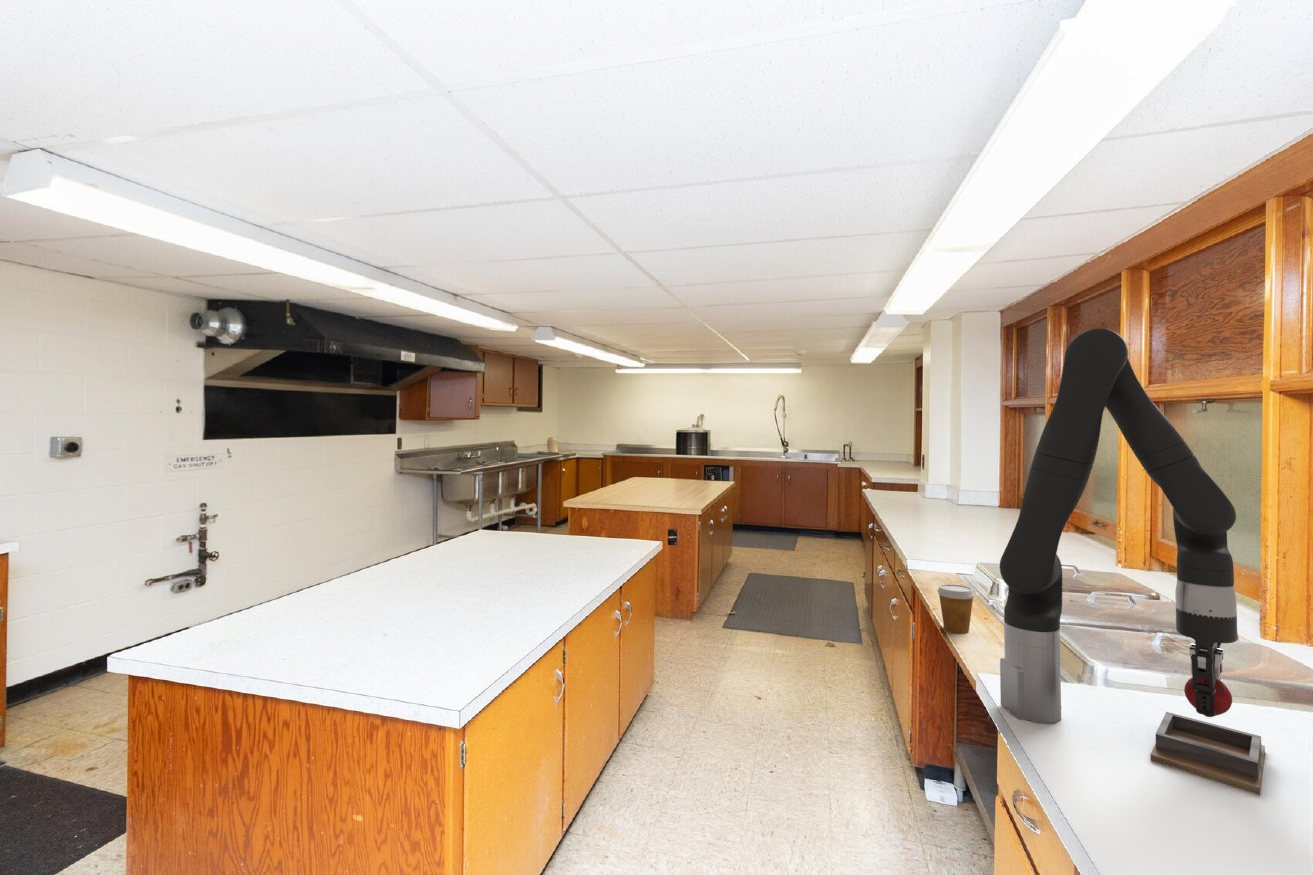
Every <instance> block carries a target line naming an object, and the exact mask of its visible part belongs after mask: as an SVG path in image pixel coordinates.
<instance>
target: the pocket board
mask: <svg viewBox="0 0 1313 875" xmlns="http://www.w3.org/2000/svg"><path fill="white" fill-rule="evenodd" d="M1265 751H1266V746H1265V745H1263V744H1262V736H1261V735H1257V734H1255V733H1249V732H1246V731H1242V730H1239V729H1235V728H1230V727H1227V726H1226V727H1225V726H1222V725H1219V724H1215V723H1211V722H1207V721H1203V720H1200V719H1196V718H1191V717H1188V716H1184V715H1181V714H1176V713H1173V712H1169V711H1166V712H1165V714H1164V715H1163V718H1162V720H1161V722H1160V724H1159V726H1158V728H1157V730H1156V732H1155V743H1154V746H1153V748H1152V751H1151V752H1150V758H1149V759H1150V761H1151V762H1154V761H1155V762H1156V763H1157V764H1162V765H1165V766H1167V765H1168V766H1167V767H1171V768H1174V769H1176V770H1180V771H1184V772H1187V773H1190V774H1193V775H1196V776H1200V777H1203V778H1206V779H1210V780H1212V781H1215V782H1219V783H1222V784H1224V785H1228V786H1231V787H1235V788H1238V789H1241V790H1244V791H1248V792H1251V793H1254V794H1256V795H1257V794H1258V795H1261V790H1262V789H1261V788H1262V780H1263V772H1264V762H1265V754H1266V752H1265ZM1155 762H1154V763H1155Z"/></svg>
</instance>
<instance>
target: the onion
mask: <svg viewBox="0 0 1313 875" xmlns="http://www.w3.org/2000/svg"><path fill="white" fill-rule="evenodd" d="M1199 683H1202V684H1206V685H1209V680H1208V679H1204V678H1199ZM1192 684H1193V681H1192V677H1191V678H1189V679H1188V680H1187V681H1186V682H1185V685H1184V690H1183V691H1184V695H1185V697H1186V699H1187V701H1188V702H1189V704H1190V705H1191V706H1192V707H1193V708H1194V709H1196V690H1194V689H1193V687H1192ZM1215 689H1216V693H1215V695H1214V698H1215V715H1214V716H1212V717H1211V716H1207V715H1204V716H1205V717H1207V718H1214V717H1216V716H1221V715H1223V714H1226V713H1227V712H1228V711H1229V710H1230V708H1231V707H1232V704H1233V696H1232V693H1231V691H1230V689H1229V688H1228V687H1227V685H1226V684H1225V683H1224V682H1223V681H1221V679H1220V680H1218V681H1215Z"/></svg>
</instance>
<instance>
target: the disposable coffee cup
mask: <svg viewBox="0 0 1313 875" xmlns="http://www.w3.org/2000/svg"><path fill="white" fill-rule="evenodd" d="M936 591H937V594H938V596H939V603H940V609H941V617H942V623H943V624H942V625H943V629H944V630H945V631H947V632H950V633H956V634H968V633H969V631H970V625H971V616H972V609H973V601H974V600H973V599H974V598H975V595H976V593H975V592H974V589H973V588H972V587H970V586H967V585H962V584H950V583H947V584H940V585H939V586H938V589H937V590H936Z"/></svg>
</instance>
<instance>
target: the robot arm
mask: <svg viewBox="0 0 1313 875" xmlns="http://www.w3.org/2000/svg"><path fill="white" fill-rule="evenodd" d="M1105 408H1106V409H1107V411H1108V412H1109V413H1110V415H1111V417H1112V418H1113V420H1114V421H1115V423H1116V425H1117V426H1118V428H1119V431H1120V432H1121V434H1122V435H1123V437H1124V439H1125V441H1126V443H1127V444H1128V446H1129V448H1130V449H1131V451H1132V452H1133V454H1134V455H1135V457H1136V458H1137V460H1138V461H1139V463H1140V464H1141V466H1142V468H1143V469H1144V470H1145V472H1146V473H1147V475H1148V477H1149V478H1150V479H1151V480H1152V482H1154V483H1155V484H1156V485H1157V486H1159V488H1160V489H1161V490H1162V492H1163V494H1164V495H1165V497H1166V499H1167V500H1168V502H1169V503H1170V505H1171V507H1172V519H1173V520H1172V521H1173V529H1174V535H1175V536H1174V537H1175V542H1176V548H1177V549H1176V550H1177V552H1176V554H1177V555H1176V585H1175V595H1174V597H1175V598H1174V599H1175V629H1176V632H1177V633H1179V634H1180V635H1181V636H1184V637H1187V638H1190V639H1193V640H1194V643H1191V645H1190V646H1189V647H1188V649H1189V650H1188V655H1189V658H1190V674H1191V678H1192V681H1193V684H1192V687H1193V689H1194V690H1196V708H1195V711H1196V713H1197V714H1200V715H1203V716H1205V715H1207V716H1211V717H1210V718H1213V717H1215V716H1214V715H1215V698H1214V695H1215V693H1216V689H1215V681H1218V680H1220V681H1221V674H1222V672H1223V667H1224V666H1223V660H1224V654H1225V653H1224V649H1223V648H1221V646H1222V644H1233V643H1235V642H1237V641H1238V606H1237V605H1238V604H1237V597H1236V591H1235V578H1234V577H1235V574H1234V572H1235V571H1234V569H1235V568H1234V560H1233V557H1232V554H1231V553H1230V550H1229V547H1228V531H1229V530H1230V529H1231V528H1232V527H1233V526H1234V525H1235V523H1236V520H1237V512H1236V509H1235V506H1234V505H1233V503H1232V502H1231V501H1230V499H1229V497H1228V496H1227V495H1226V494H1225V492H1224V491H1223V490H1222V489H1221V488H1220V486H1219V485H1218V484H1217V483H1216V482H1215V481H1214V479H1213V478H1212V477H1211V476H1210V475H1209V473H1207V472H1206V471H1205V469H1204V468H1203V467H1202V466H1201V463H1200V462H1199V459H1198V458H1197V457H1196V455H1195V454H1194V452H1193V451H1192V449H1191V447H1189V444H1188V443H1187V441H1185V440H1184V438H1183V437H1182V435H1181V434H1180V433H1179V431H1178V430H1177V428H1176V427H1175V426H1174V425H1173V423H1171V421H1170V420H1169V419H1168V418H1167V416H1165V414H1164V413H1163V412H1162V410H1160V408H1158V406H1157V405H1156V403H1154V401H1153V400H1152V399H1151V397H1150V396H1149V395H1148V393H1147V392H1146V390H1145V388H1144V387H1143V385H1142V384H1141V383H1140V381H1139V379H1138V377H1137V375H1136V373H1135V370H1134V369H1133V367H1132V365H1131V361H1130V359H1129V347H1128V344H1127V342H1126V340H1125V339H1124V338H1123V337H1122V336H1121V335H1120V334H1119V333H1117V332H1116V331H1115V330H1111V329H1110V328H1105V327H1104V328H1103V327H1101V328H1100V327H1099V328H1090V329H1088V330H1085V331H1083V332H1082V331H1081V333H1079V334H1077V335H1076V336H1075V337H1073V339H1071V340H1070V342H1069V343H1068V344H1067V346H1066V348H1065V351H1064V357H1063V366H1062V372H1061V378H1060V383H1059V389H1058V392H1057V396H1056V400H1055V403H1054V405H1053V408H1052V410H1051V411H1050V412H1051V413H1050V414H1049V416H1048V419H1047V421H1046V423H1045V425H1044V428H1043V430H1042V434H1041V436H1040V438H1039V441H1038V444H1037V446H1036V450H1035V452H1034V455H1033V458H1032V461H1031V466H1030V469H1029V472H1028V477H1027V481H1026V484H1025V488H1024V492H1023V496H1022V501H1021V506H1020V511H1019V515H1018V519H1017V521H1016V524H1015V527H1014V529H1013V531H1012V534H1011V536H1010V537H1009V539H1008V543H1007V545H1006V547H1005V549H1004V550H1003V554H1002V555H1001V557H1000V560H999V572H1000V575H1001V579H1002V581H1004V583H1005V584H1006V586H1007V587H1008V588H1007V590H1008V593H1007V594H1008V595H1007V599H1006V603H1005V606H1004V608H1003V609H1004V610H1003V611H1004V612H1003V615H1004V616H1003V619H1004V620H1003V621H1004V622H1003V624H1004V625H1003V626H1004V636H1003V638H1004V642H1003V643H1004V657H1001V658H1000V659H999V674H1000V675H999V676H1000V678H999V681H1000V685H999V687H1000V689H999V690H1000V706H1002V707H1003V708H1005V709H1006V710H1007V711H1008V712H1009V713H1010V714H1011V715H1013V716H1014V717H1016V719H1018V720H1019V719H1020V720H1026V721H1030V722H1035V723H1041V724H1042V723H1043V724H1053V723H1057V722H1061V720H1062V691H1061V690H1062V688H1061V687H1062V686H1061V684H1062V683H1061V681H1062V680H1061V678H1062V677H1061V675H1062V674H1061V616H1062V611H1063V566H1062V562H1061V559H1060V557H1059V555H1058V554H1057V553H1058V549H1059V543H1060V540H1061V537H1062V535H1063V531H1064V529H1065V526H1066V525H1067V522H1068V521H1069V519H1070V518H1071V516H1072V513H1074V511H1075V508H1076V507H1077V505H1078V504H1079V501H1080V499H1081V498H1082V496H1083V493H1084V490H1085V489H1086V486H1087V484H1088V483H1089V482H1088V481H1089V478H1090V475H1091V472H1092V470H1093V466H1094V463H1095V459H1096V455H1097V451H1098V446H1099V441H1100V436H1101V429H1102V423H1103V422H1102V420H1103V415H1104V411H1105ZM1199 678H1204V679H1208V680H1209V685H1206V684H1202V683H1199ZM1212 716H1213V717H1212Z"/></svg>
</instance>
